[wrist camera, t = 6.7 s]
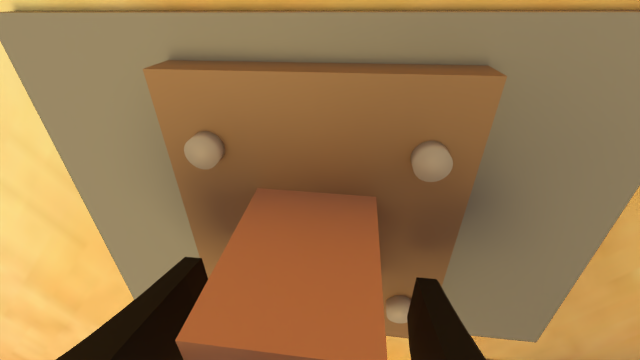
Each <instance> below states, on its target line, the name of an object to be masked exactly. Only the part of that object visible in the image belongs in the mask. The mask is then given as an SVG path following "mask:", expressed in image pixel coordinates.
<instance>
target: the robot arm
mask: <svg viewBox="0 0 640 360" xmlns="http://www.w3.org/2000/svg"><path fill="white" fill-rule="evenodd" d="M207 281H208V277H207V274H206V270H205V267H204V264H203V260H202V258H194V257H184V258H183V259H182V260H181V261H179V262H178V263H177V264H176V265H175V266H174V267H172V268H171V269H170V270H169V271H168V272H167V273H165V274H164V275H163V276H162V277H161V278H160V279H158V280H157V281H156V282H155V283H154V284H153V285H151V286H150V287H149V288H148V289H147V290H146V291H144V292H143V293H142V294H141V295H140V296H138V297H137V298H136V299H135V300H134V301H132V302H131V303H130V304H129V305H128V306H126V307H125V308H124V309H123V310H122V311H120V312H119V313H118V314H116V315H115V316H114V317H113V318H111V319H110V320H109V321H107V322H106V323H105V324H104V325H102V326H101V327H100V328H99V329H97V330H96V331H95V332H93V333H92V334H91V335H90V336H88V337H87V338H86V339H84V340H83V341H81V342H80V343H79V344H77V345H76V346H75V347H73V348H72V349H70V350H69V351H68V352H66V353H65V354H63V355H62V356H60V357H59V358H57V359H56V360H183V357H182V355H181V353H180V350H179V348H178V346H177V344H176V341H175V340H176V338H177V336H178V334H179V333H180V331H181V329H182V327H183V325H184V323H185V321H186V320H187V318H188V316H189V314H190V312H191V310H192V309H193V307H194V305H195V303H196V301H197V299H198V297H199V296H200V294H201V292H202V290H203V288H204V286H205V284H206V283H207ZM407 323H408V336H409V348H410V354H411V360H486V359H485V357H484V356H483V354H482V353H481V351H480V350H479V348H478V347H477V345H476V344H475V342H474V340H473V339H472V337H471V336H470V334H469V333H468V331H467V330H466V328H465V326H464V325H463V323H462V321H461V320H460V318H459V316H458V315H457V313H456V311H455V310H454V308H453V306H452V305H451V303H450V301H449V299H448V298H447V296H446V294H445V292H444V290H443V288H442V287H441V285H440V283H439V281H438V280H437V279H430V278H419V277H416V281H415V285H414V290H413V294H412V298H411V302H410V306H409V311H408V315H407Z"/></svg>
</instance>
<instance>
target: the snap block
mask: <svg viewBox="0 0 640 360" xmlns="http://www.w3.org/2000/svg"><path fill="white" fill-rule="evenodd" d="M175 341H176V344H177V346H178V348H179V350H180V353H181V355H182V357H183V360H387V349H386V334H385V319H384V305H383V290H382V275H381V260H380V245H379V231H378V216H377V201H376V197H372V196H359V195H345V194H331V193H318V192H304V191H291V190H277V189H263V188H257V190H256V192H255V194H254V195H253V197H252V199H251V201H250V203H249V205H248V207H247V208H246V210H245V212H244V214H243V216H242V218H241V220H240V221H239V223H238V225H237V227H236V229H235V231H234V233H233V234H232V236H231V238H230V240H229V242H228V244H227V246H226V247H225V249H224V251H223V253H222V255H221V257H220V258H219V260H218V262H217V264H216V266H215V268H214V270H213V271H212V273H211V275H210V277H209V279H208V281H207V283H206V284H205V286H204V288H203V290H202V292H201V294H200V296H199V297H198V299H197V301H196V303H195V305H194V307H193V309H192V310H191V312H190V314H189V316H188V318H187V320H186V321H185V323H184V325H183V327H182V329H181V331H180V333H179V334H178V336H177V338H176V340H175Z"/></svg>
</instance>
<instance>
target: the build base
mask: <svg viewBox="0 0 640 360" xmlns="http://www.w3.org/2000/svg"><path fill="white" fill-rule="evenodd" d="M0 41H1V43H2V45H3V47H4V49H5V51H6V53H7V55H8V57H9V59H10V60H11V62H12V64H13V66H14V68H15V70H16V72H17V74H18V76H19V78H20V80H21V82H22V84H23V86H24V87H25V89H26V91H27V93H28V95H29V97H30V99H31V101H32V103H33V105H34V107H35V109H36V111H37V113H38V115H39V116H40V118H41V120H42V122H43V124H44V126H45V128H46V130H47V132H48V134H49V136H50V138H51V140H52V142H53V143H54V145H55V147H56V149H57V151H58V153H59V155H60V157H61V159H62V161H63V163H64V165H65V167H66V169H67V171H68V172H69V174H70V176H71V178H72V180H73V182H74V184H75V186H76V188H77V190H78V192H79V194H80V196H81V198H82V200H83V201H84V203H85V205H86V207H87V209H88V211H89V213H90V215H91V217H92V219H93V221H94V223H95V225H96V227H97V228H98V230H99V232H100V234H101V236H102V238H103V240H104V242H105V244H106V246H107V248H108V250H109V252H110V254H111V256H112V257H113V259H114V261H115V263H116V265H117V267H118V269H119V271H120V273H121V275H122V277H123V279H124V281H125V283H126V284H127V286H128V288H129V290H130V292H131V294H132V296H133V298H134V300H135V299H136V298H137V297H138V296H140V295H141V294H142V293H143V292H144V291H146V290H147V289H148V288H149V287H150V286H151V285H153V284H154V283H155V282H156V281H157V280H158V279H160V278H161V277H162V276H163V275H164V274H165V273H167V272H168V271H169V270H170V269H171V268H172V267H174V266H175V265H176V264H177V263H178V262H179V261H181V260H182V259H183V258H184V257H194V258H202V260H203V264H204V267H205V270H206V274H207V277H208V279H209V277H210V275H211V273H212V271H213V270H214V268H215V266H216V264H217V262H218V260H219V258H220V257H221V255H222V253H223V251H224V249H225V247H226V246H227V244H228V242H229V240H230V238H231V236H232V234H233V233H234V231H235V229H236V227H237V225H238V223H239V221H240V220H241V218H242V216H243V214H244V212H245V210H246V208H247V207H248V205H249V203H250V201H251V199H252V197H253V195H254V194H255V192H256V190H257V188H263V189H277V190H291V191H304V192H318V193H331V194H345V195H359V196H372V197H376V201H377V216H378V231H379V245H380V260H381V275H382V290H383V305H384V319H385V334H386V336H393V337H402V338H409V336H408V323H407V315H408V311H409V306H410V302H411V298H412V294H413V290H414V285H415V281H416V277H419V278H430V279H437V280H438V281H439V283H440V285H441V287H442V288H443V290H444V292H445V294H446V296H447V298H448V299H449V301H450V303H451V305H452V306H453V308H454V310H455V311H456V313H457V315H458V316H459V318H460V320H461V321H462V323H463V325H464V326H465V328H466V330H467V331H468V333H469V334H470V335H471V336H481V337H490V338H500V339H509V340H518V341H528V342H537V340H538V339H539V337H540V336H541V334H542V333H543V331H544V330H545V328H546V327H547V325H548V324H549V322H550V321H551V319H552V318H553V316H554V315H555V313H556V312H557V310H558V309H559V307H560V306H561V304H562V302H563V301H564V299H565V298H566V296H567V295H568V293H569V292H570V290H571V289H572V287H573V286H574V284H575V283H576V281H577V280H578V278H579V277H580V275H581V274H582V272H583V271H584V269H585V268H586V266H587V264H588V263H589V261H590V260H591V258H592V257H593V255H594V254H595V252H596V251H597V249H598V248H599V246H600V245H601V243H602V242H603V240H604V239H605V237H606V236H607V234H608V233H609V231H610V230H611V228H612V227H613V225H614V223H615V222H616V220H617V219H618V217H619V216H620V214H621V213H622V211H623V210H624V208H625V207H626V205H627V204H628V202H629V201H630V199H631V198H632V196H633V195H634V193H635V192H636V190H637V189H638V187H639V186H640V10H615V11H11V12H0Z"/></svg>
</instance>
